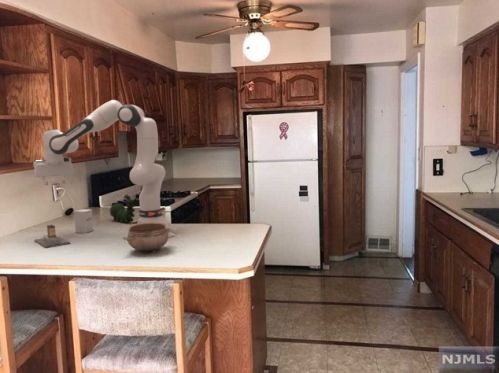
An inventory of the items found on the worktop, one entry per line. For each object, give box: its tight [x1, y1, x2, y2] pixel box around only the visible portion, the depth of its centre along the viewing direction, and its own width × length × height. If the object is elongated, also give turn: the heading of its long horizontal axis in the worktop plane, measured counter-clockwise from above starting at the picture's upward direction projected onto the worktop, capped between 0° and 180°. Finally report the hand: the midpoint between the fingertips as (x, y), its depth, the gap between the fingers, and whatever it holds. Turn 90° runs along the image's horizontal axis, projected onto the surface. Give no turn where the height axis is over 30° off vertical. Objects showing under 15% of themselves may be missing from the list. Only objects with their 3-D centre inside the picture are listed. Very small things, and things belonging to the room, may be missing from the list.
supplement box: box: [73, 208, 94, 234], centre depth 249 cm, size 7×7×13 cm
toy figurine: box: [109, 194, 136, 224], centre depth 276 cm, size 10×19×26 cm
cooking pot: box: [122, 222, 172, 254], centre depth 202 cm, size 25×19×12 cm
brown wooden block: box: [46, 224, 57, 238], centre depth 224 cm, size 5×2×8 cm, turn 42°
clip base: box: [34, 233, 71, 249], centre depth 225 cm, size 20×12×4 cm, turn 41°
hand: (55, 184), depth 237 cm, fingers open, 8 cm apart
